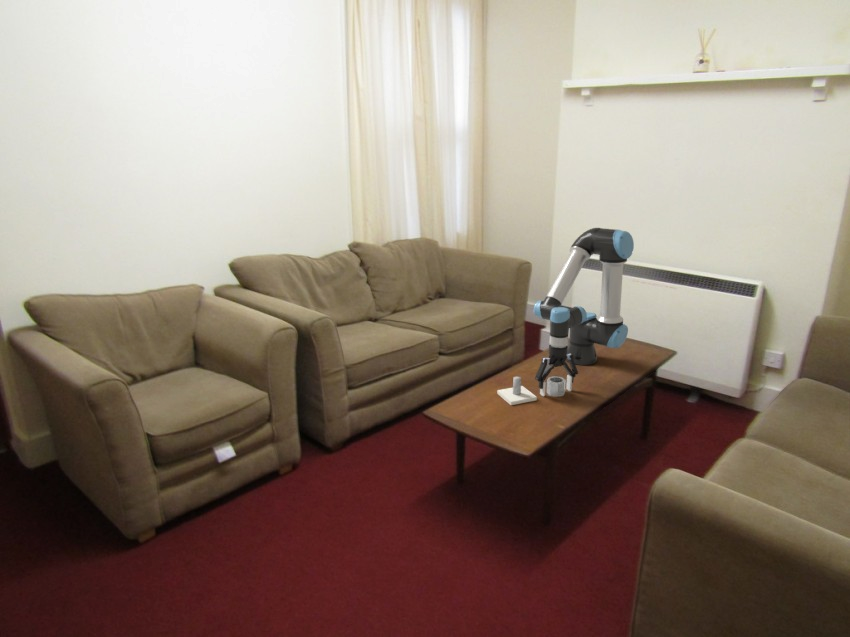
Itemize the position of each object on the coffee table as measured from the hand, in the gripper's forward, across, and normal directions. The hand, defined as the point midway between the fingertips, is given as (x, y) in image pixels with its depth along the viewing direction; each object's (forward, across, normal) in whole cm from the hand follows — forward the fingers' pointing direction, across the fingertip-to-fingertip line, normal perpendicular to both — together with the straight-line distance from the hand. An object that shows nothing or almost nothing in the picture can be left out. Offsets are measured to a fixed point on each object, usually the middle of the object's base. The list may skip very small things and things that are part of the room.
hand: (555, 392), depth 239 cm
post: (0, +17, -3) cm, 17 cm away
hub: (0, 0, 0) cm, 0 cm away
